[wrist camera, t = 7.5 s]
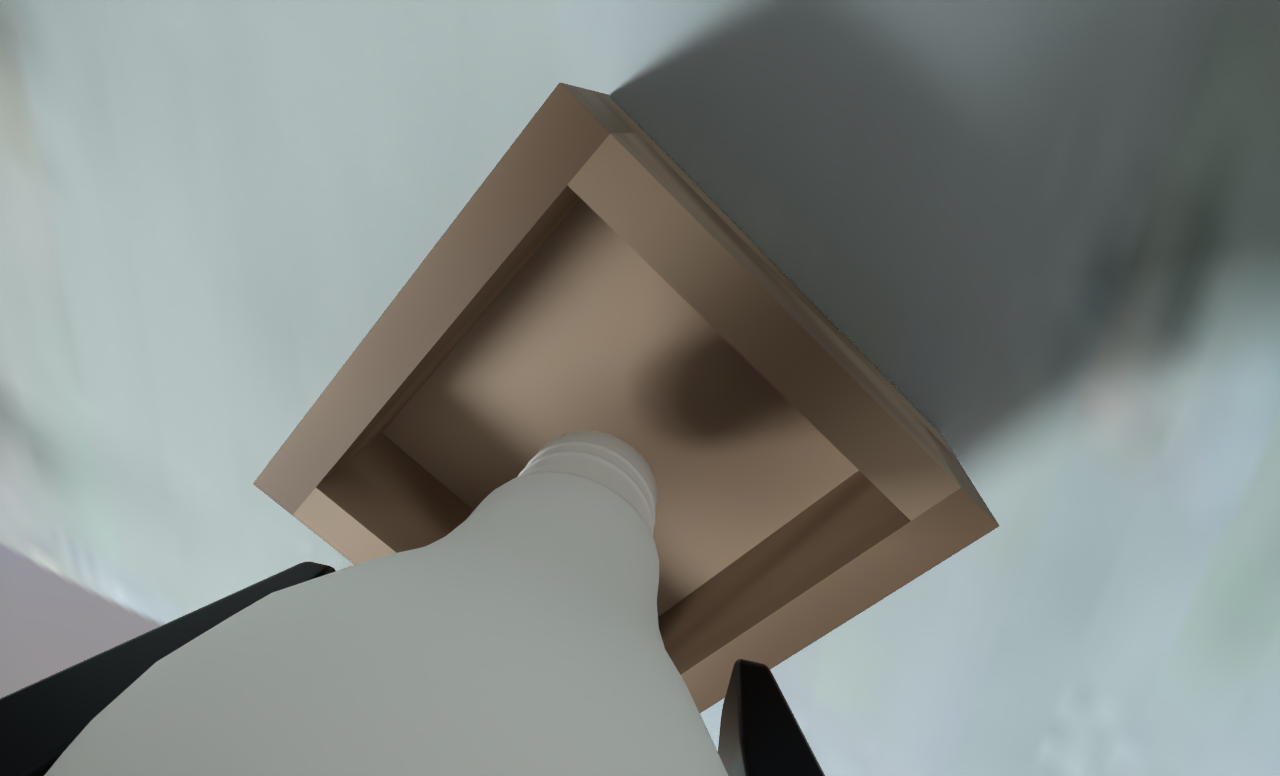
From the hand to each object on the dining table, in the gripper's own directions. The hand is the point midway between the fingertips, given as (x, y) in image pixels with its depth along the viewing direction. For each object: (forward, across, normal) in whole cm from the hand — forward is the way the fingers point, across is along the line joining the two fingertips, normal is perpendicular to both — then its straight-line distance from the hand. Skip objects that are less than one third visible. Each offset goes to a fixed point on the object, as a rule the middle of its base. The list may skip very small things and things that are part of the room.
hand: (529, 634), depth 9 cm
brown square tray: (+7, 0, 0) cm, 7 cm away
